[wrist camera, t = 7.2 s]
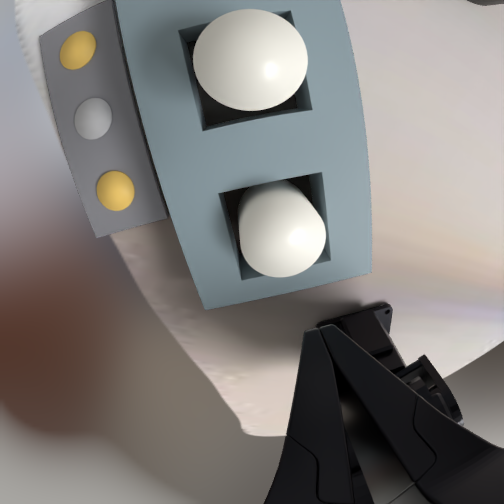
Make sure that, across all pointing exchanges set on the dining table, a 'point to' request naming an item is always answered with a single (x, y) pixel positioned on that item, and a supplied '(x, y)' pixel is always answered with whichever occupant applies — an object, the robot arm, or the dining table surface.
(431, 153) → the dining table surface
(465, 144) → the dining table surface
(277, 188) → the button
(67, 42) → the card
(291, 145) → the button board
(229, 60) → the button mid
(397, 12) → the dining table surface
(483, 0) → the mug
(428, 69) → the dining table surface
